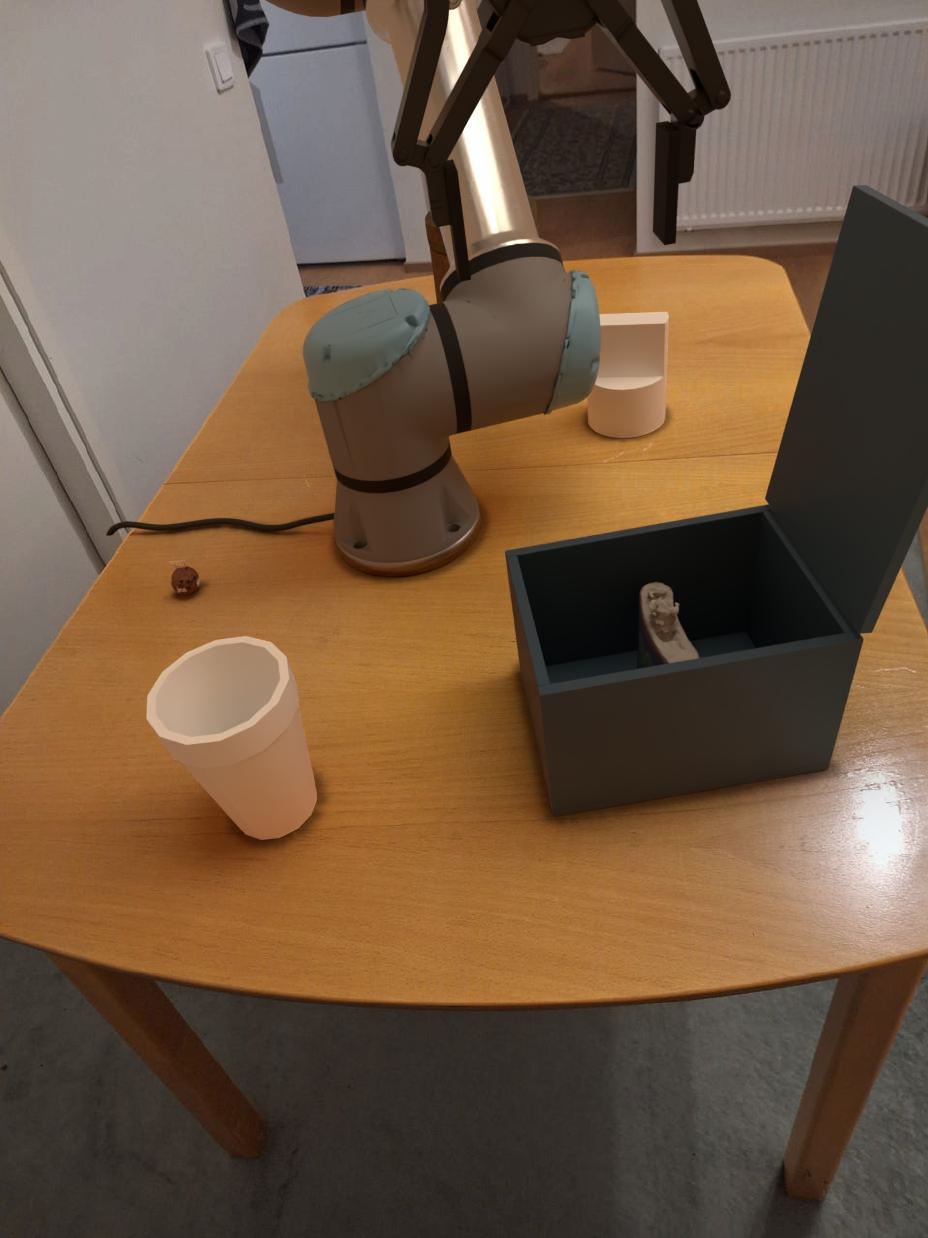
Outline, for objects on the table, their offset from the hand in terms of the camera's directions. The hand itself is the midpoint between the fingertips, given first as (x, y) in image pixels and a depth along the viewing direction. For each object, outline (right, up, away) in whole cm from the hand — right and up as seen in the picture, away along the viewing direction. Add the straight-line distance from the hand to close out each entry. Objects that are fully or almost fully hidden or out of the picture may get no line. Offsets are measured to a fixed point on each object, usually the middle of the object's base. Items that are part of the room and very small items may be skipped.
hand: (563, 255), depth 54 cm
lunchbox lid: (+16, -13, -8) cm, 22 cm away
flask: (+8, -31, +8) cm, 33 cm away
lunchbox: (+8, -32, +8) cm, 34 cm away
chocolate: (-35, -22, +28) cm, 50 cm away
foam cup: (-21, -38, +7) cm, 44 cm away
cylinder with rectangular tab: (+13, -1, +42) cm, 44 cm away
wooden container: (-2, +15, +62) cm, 64 cm away
